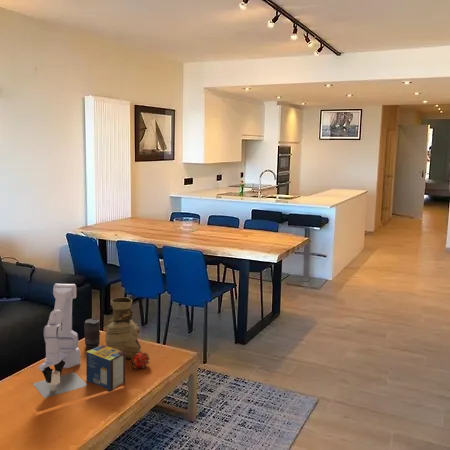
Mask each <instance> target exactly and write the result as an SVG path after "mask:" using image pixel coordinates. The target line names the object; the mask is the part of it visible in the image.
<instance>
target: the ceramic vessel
mask: <svg viewBox="0 0 450 450" xmlns="http://www.w3.org/2000/svg"><path fill="white" fill-rule="evenodd" d="M110 304H111V307H112V318H110V320H109V321H108V322H107V323H108V325H107V328H106V331H105V346H108V347H111V348H114V349H117V350H120V351H123V352H125V360H126V359H128V360H132V357H133V356H134V355H135V353H139V352H140V351H141V348H142V347H141V346H142V345H141V344H140V341H139V340H138V339H139V338H140V332H141V329H140V327H139V325H138V324H137V323H138V322H137V321H133V320H132V319H133V313H134V311H133V310H132V309H131V307H132V304H133V299H131V298H130V297H127V296H126V297H124V296H121V297H120V296H119V297H115V298H111V300H110Z"/></svg>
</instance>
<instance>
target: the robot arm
mask: <svg viewBox="0 0 450 450" xmlns="http://www.w3.org/2000/svg"><path fill="white" fill-rule="evenodd" d="M52 289H53V290H52V294H53V297H54V298H55V301H54V309H53V310H52V311H51V312H50V314H49V317H48V321H47V324H46V325H45V326H44V327H43V337H44V343H45V358H44V361H43V362H42V364H40V365H38V371H40V372H41V373H42V374H43V376H44V380H46V382H47V383H51V375H52V371H54V370H57V371H60V376H62V371H63V369H69V368H72V367H75V366H79V365H81V350H80V348H79V347H78V346H79V334H78V333H77V332H76V331H74V330H73V299H76V298H77V285H76V284H75V283H54V285H53V288H52ZM51 366H53V367H54V369H53V368H51Z"/></svg>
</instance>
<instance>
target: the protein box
mask: <svg viewBox="0 0 450 450" xmlns="http://www.w3.org/2000/svg"><path fill="white" fill-rule="evenodd" d="M85 357H86V366H85V367H86V381H87V382H89V383H91V384H94V385H96V386H99V387H102V388H104V389H106V391H107V392H112V391H115V389H118V388H119V387H120V385H125V384H126V359H125V352H123V351H120V350H117V349H114V348H111V347H108V346H107V345H106V344H101V345H100V344H99V346H98V347H96V348H94V349H88V350H87V351H86V355H85Z"/></svg>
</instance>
